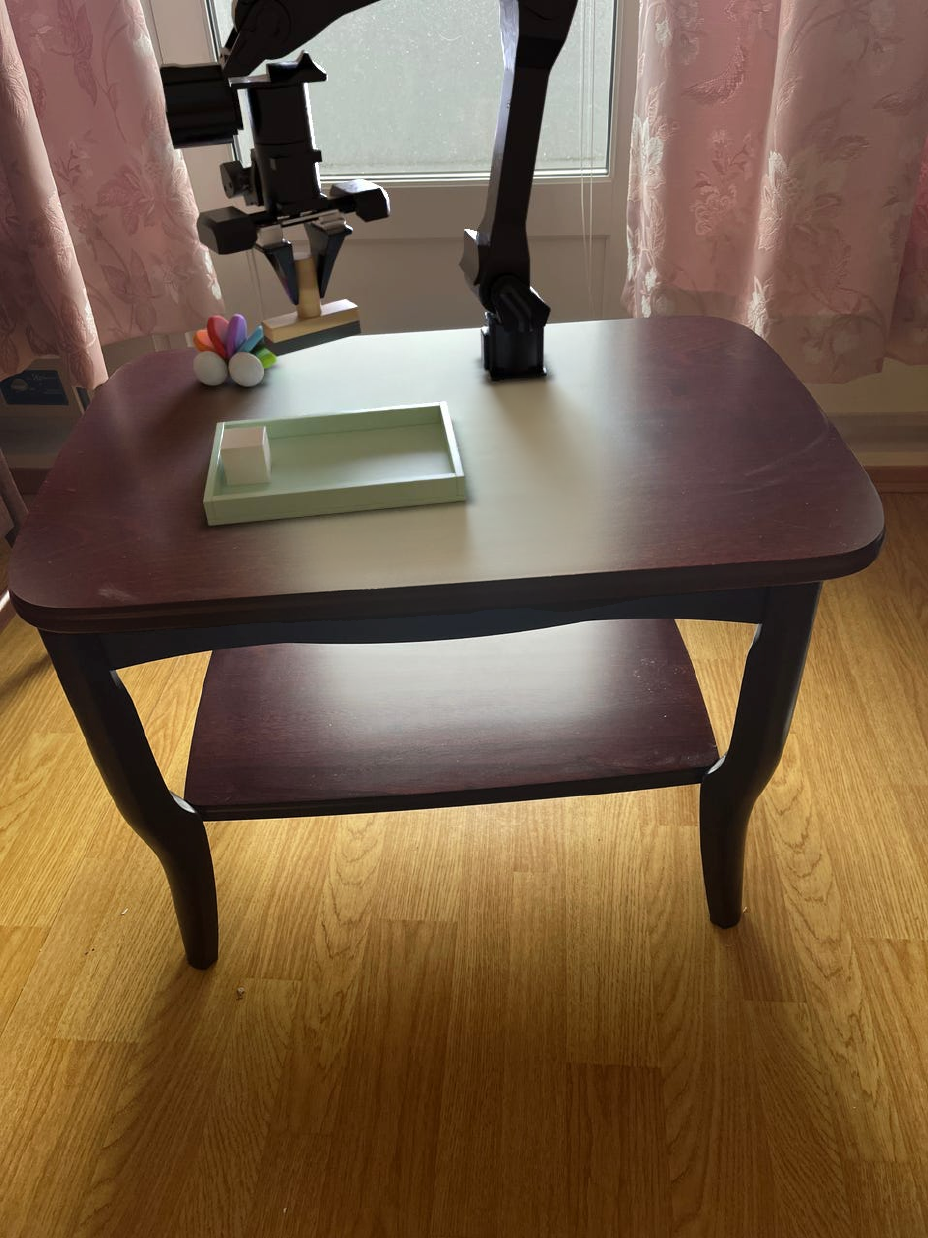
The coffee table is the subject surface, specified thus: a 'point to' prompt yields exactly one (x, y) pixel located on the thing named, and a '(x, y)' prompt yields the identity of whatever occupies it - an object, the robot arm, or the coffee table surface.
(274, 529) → the coffee table surface
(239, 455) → the chalk block
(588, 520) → the coffee table surface
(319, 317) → the brush
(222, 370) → the rainbow petal wheeled toy
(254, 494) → the tray
